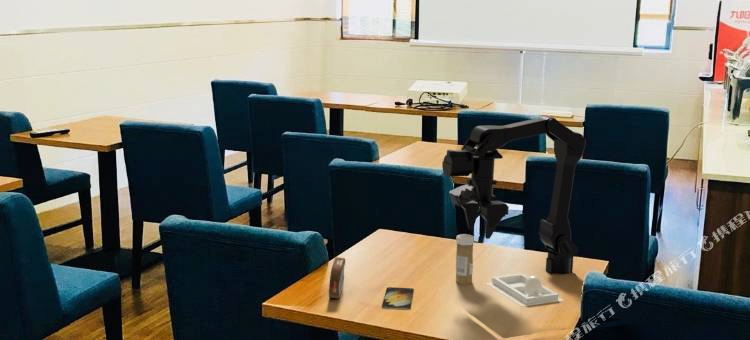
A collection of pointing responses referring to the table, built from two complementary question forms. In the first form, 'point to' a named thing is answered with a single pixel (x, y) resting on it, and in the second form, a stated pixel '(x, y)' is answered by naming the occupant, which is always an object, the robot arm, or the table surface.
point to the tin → (336, 278)
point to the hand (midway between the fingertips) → (479, 233)
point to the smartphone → (398, 298)
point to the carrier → (522, 290)
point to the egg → (533, 286)
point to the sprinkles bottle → (464, 258)
